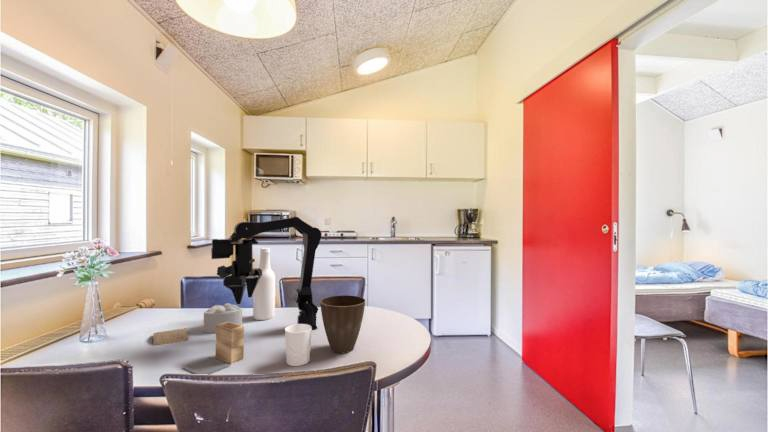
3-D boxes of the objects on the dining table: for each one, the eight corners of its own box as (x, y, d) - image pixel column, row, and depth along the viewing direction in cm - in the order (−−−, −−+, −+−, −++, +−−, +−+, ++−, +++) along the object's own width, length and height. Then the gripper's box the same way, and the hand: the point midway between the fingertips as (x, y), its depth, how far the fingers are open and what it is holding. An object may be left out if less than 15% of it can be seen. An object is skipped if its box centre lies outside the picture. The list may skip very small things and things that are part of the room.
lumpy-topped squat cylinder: (212, 324, 129) (212, 302, 129) (245, 323, 130) (246, 301, 130) (200, 333, 118) (200, 309, 119) (237, 332, 120) (237, 309, 120)
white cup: (287, 369, 90) (287, 334, 90) (282, 358, 97) (282, 325, 97) (314, 364, 94) (314, 330, 94) (307, 353, 101) (308, 322, 101)
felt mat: (210, 358, 97) (210, 357, 97) (229, 366, 92) (229, 365, 92) (182, 368, 90) (182, 367, 90) (202, 377, 85) (202, 376, 85)
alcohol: (249, 317, 138) (250, 248, 138) (269, 313, 144) (270, 247, 144) (257, 322, 131) (258, 249, 132) (278, 317, 137) (279, 248, 138)
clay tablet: (188, 342, 111) (188, 334, 111) (152, 349, 105) (152, 340, 105) (185, 330, 123) (185, 323, 123) (153, 335, 117) (153, 328, 117)
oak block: (227, 353, 101) (228, 321, 101) (243, 359, 97) (243, 325, 97) (215, 357, 98) (216, 324, 98) (231, 364, 93) (231, 329, 93)
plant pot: (325, 339, 113) (325, 294, 113) (366, 340, 113) (367, 295, 113) (314, 357, 98) (315, 305, 98) (362, 358, 98) (363, 306, 98)
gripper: (233, 254, 123) (234, 294, 123) (206, 261, 104) (207, 308, 104) (262, 253, 123) (263, 294, 123) (240, 260, 104) (241, 308, 104)
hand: (244, 300), depth 114 cm, fingers open, 9 cm apart
